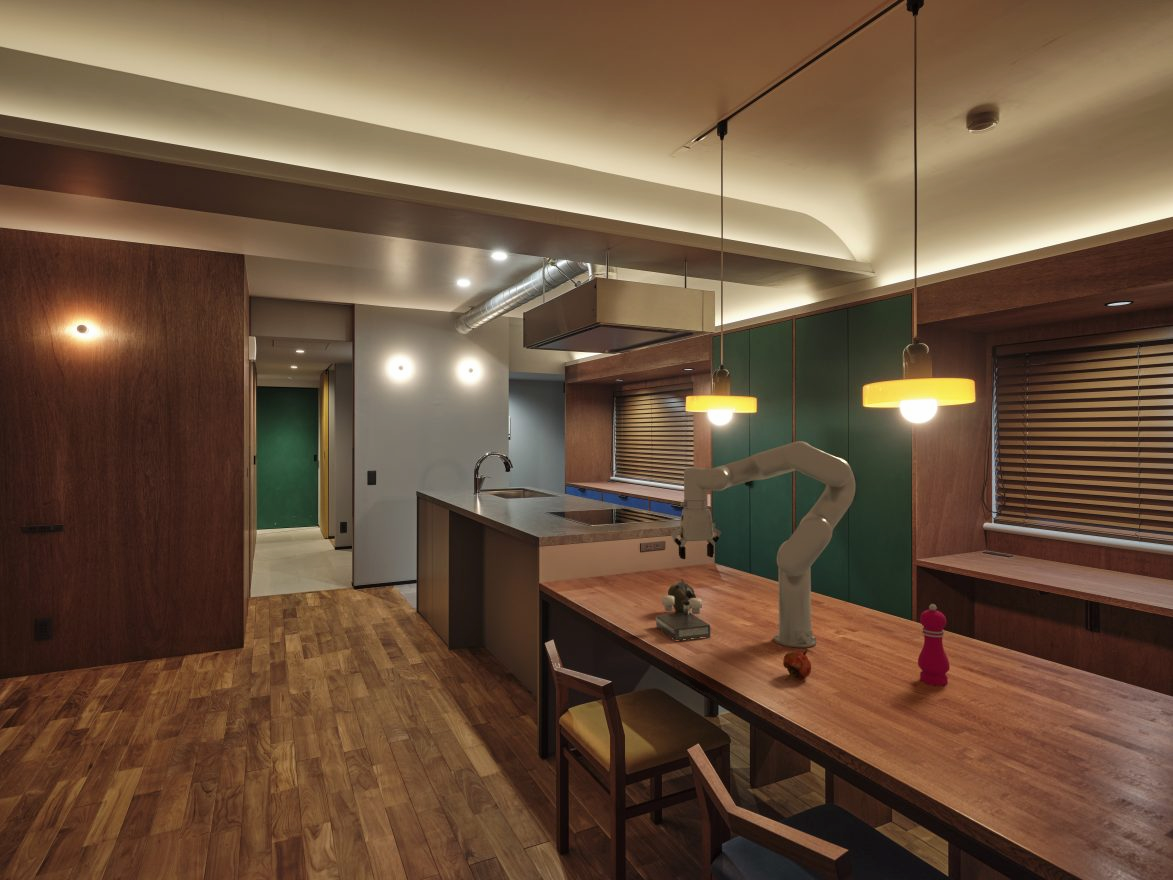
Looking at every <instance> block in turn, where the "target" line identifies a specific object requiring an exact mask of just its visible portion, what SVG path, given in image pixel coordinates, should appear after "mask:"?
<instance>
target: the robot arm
mask: <svg viewBox="0 0 1173 880" xmlns="http://www.w3.org/2000/svg"><path fill="white" fill-rule="evenodd" d="M794 471H797V472H799V473H801V474H803V475H805V476H808V477H809V478H812V479H814V480H816V481H818V482H820V483H822V484H825V487H824V490H823V492H822V494H821V495H820V496H819V498H818V499H817V501H816V502H815V503H814V505H813V506H812V508H810V510H809V511H808V512H807V513H806V515H804V516H803V517H802V518H801V520H800V522H799V524H798V526H797V528H796V529H795V531H793V533H792V534H791V535H790V537H789V538H788V540H787V539H786V540H785V541H784V542H782V544H780V546H779V548H778V550H777V554H776V565H777V567H778V630H779V631H778V632H777V633H776V634H774V635H773V640H774V641H775V643H777V644H779V645H782V646H785V647H791V648H810V647H813V646H815V645H817V642H818V641H817V640H818V639H817V637H815V636H814V635H813V630H812V601H811V599H812V597H811V594H812V593H811V592H812V591H811V590H812V587H811V586H812V585H811V584H812V581H811V578H812V577H811V571H812V570H811V569H812V568H811V567H812V565H813V564H814V563H815V562H816V560H817V559H818V558H819V557H820V555H821V553H823V551H824V550H825V549H826V547H827V546H828V545H829V543H830V541H831V539H832V537H833V530H834V529H835V527H836V526H837V524H838V523H839V522H840V520H841V519H842V518H843V516H844V515H845V514H846V512H847V511H848V509H849V507H850V506H851V505H852V503H853V500H854V498H855V494H856V480H855V476H854V473H853V469H852V468H851V466H850V464H849V463H848V461H846V460H845V459H844V458H842V457H837V456H835V455H833V454H830V453H827V452H825V451H823V450H820V449H818V448H816V447H814V446H813V445H811V444H809V443H808V442H805V441H802V440H799V441H793V442H789V443H787V444H784V445H780V446H777V447H774V448H771V449H767V450H765V451H764V450H763V451H761V452H757V453H754V454H752V455H750V456H748V457H745V458H743V459H739V460H736V461H733V462H729V463H727V464H724V465H719V466H716V467H712V468H705V467H686V468H685V469H684V471H683V494H684V495H683V496H684V497H683V502H680V507H681V508H682V507H683V509H682V510H681V515H680V523H679V525H680V526H679V528H677V529H675V530H674V531H672V532H671V533H670V536H671V538H672V539H673V542H674V543H675V544H676V546H678V556H679V558H680V559H681V560H685V559H687V558H686V547H685V545H686V543H687V542H702V541H706V542H707V544H706V556H707V557H709V558H714V554H715V545H716V543H717V542H718V540H719V538H720V536H721V534H722V531H721V530H719V529H717V528H715V527H714V525H713V523H714V522H713V517H712V513H711V511H712V510H711V509H709V508H708V504H709V503H708V490H709V491H715V492H721V491H724V490H726V489H727V488H730V487H733V486H737V485H741V484H743V483H747V482H751V481H763V480H766V479H770V478H774V477H778V476H781V475H785V474H788V473H791V472H794ZM678 535H679V536H680V539H679V538H678Z"/></svg>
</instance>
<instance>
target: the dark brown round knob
mask: <svg viewBox="0 0 1173 880" xmlns="http://www.w3.org/2000/svg"><path fill="white" fill-rule="evenodd" d="M682 604H683V605H684V614H690V611H691V609H689V604H690V601H689V599H683V600H682Z"/></svg>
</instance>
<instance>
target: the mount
mask: <svg viewBox="0 0 1173 880" xmlns="http://www.w3.org/2000/svg"><path fill="white" fill-rule="evenodd" d="M691 613H692V612H691ZM691 613H690V614H684V613H675V612H674V613H665V614H656V616H655V623H656V626H657V627H658V628H659V629H658V628H657V627H656V626H655V627H656V628H657V629H658V630H660V631H661V630H662V631H663V632H662V631H661V632H662V633H664V635H666V634H667V635H666V636H668V637H669V636H670V637H671V638H670V637H669V638H670V639H672V638H673V639H674V640H683V639H691V638H700V637H710V638H711V625H710V624H709V623H708V622H706V621H704V620H703V619H701V618H699V617H698V616H696V615H695V614H693V613H692V614H691ZM673 639H672V640H673ZM674 640H673V641H674Z"/></svg>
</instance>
